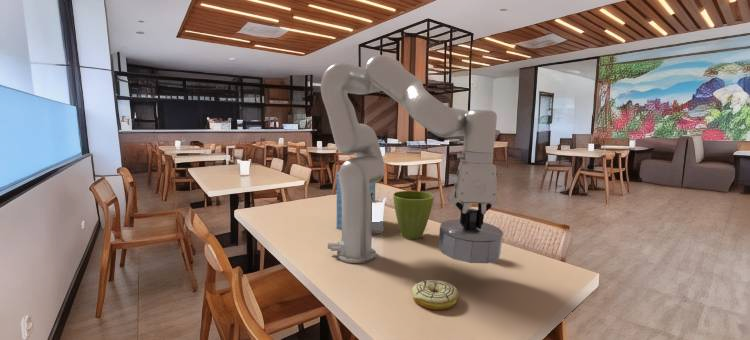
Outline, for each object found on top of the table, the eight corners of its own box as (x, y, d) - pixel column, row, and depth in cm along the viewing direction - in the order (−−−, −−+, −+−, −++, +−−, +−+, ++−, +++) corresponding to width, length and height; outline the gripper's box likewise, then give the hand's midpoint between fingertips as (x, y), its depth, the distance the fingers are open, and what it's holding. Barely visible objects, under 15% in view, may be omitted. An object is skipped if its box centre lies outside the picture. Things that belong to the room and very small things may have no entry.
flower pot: (440, 238, 129) (442, 196, 126) (409, 246, 120) (411, 201, 118) (414, 227, 141) (415, 189, 139) (384, 234, 133) (385, 193, 130)
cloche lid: (447, 262, 85) (450, 218, 83) (433, 239, 100) (435, 201, 99) (510, 264, 85) (515, 220, 84) (486, 240, 101) (490, 203, 99)
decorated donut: (417, 287, 91) (417, 274, 90) (458, 294, 87) (459, 280, 87) (407, 307, 81) (408, 292, 80) (454, 316, 78) (455, 300, 77)
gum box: (344, 230, 136) (344, 173, 133) (335, 228, 139) (335, 171, 136) (375, 220, 151) (376, 168, 148) (366, 218, 154) (367, 167, 151)
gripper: (450, 159, 85) (444, 230, 88) (514, 161, 86) (507, 232, 89) (442, 155, 92) (437, 221, 95) (502, 157, 93) (495, 223, 96)
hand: (471, 226), depth 92 cm, fingers closed on cloche lid, 3 cm apart
